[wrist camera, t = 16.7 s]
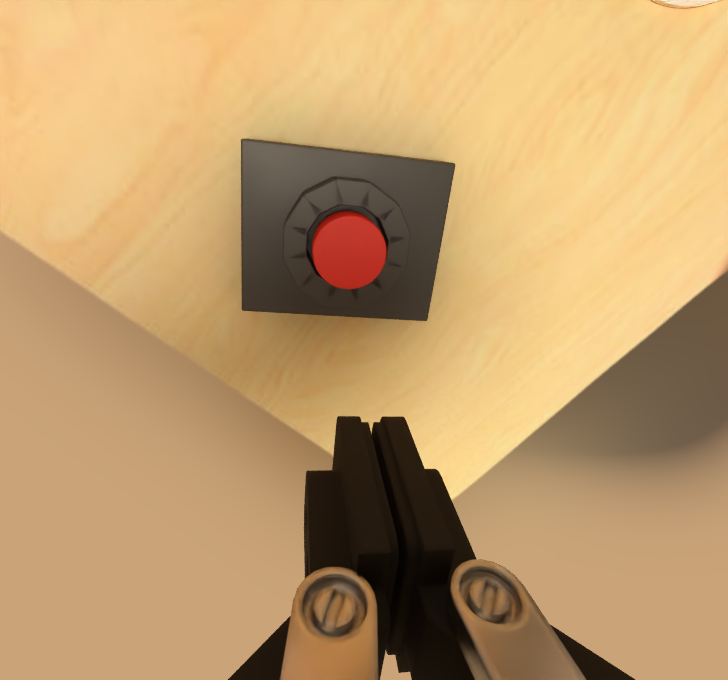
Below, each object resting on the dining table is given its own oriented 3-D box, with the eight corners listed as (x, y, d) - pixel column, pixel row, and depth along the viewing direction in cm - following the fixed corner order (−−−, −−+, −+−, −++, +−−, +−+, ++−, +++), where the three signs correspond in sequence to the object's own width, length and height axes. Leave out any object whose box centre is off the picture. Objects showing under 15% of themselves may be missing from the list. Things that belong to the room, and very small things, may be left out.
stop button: (309, 277, 23) (310, 287, 22) (314, 206, 22) (315, 212, 20) (376, 281, 24) (381, 292, 22) (385, 213, 22) (391, 219, 21)
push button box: (246, 298, 27) (237, 323, 23) (246, 138, 23) (235, 138, 20) (418, 309, 29) (435, 333, 25) (443, 161, 25) (467, 165, 21)
